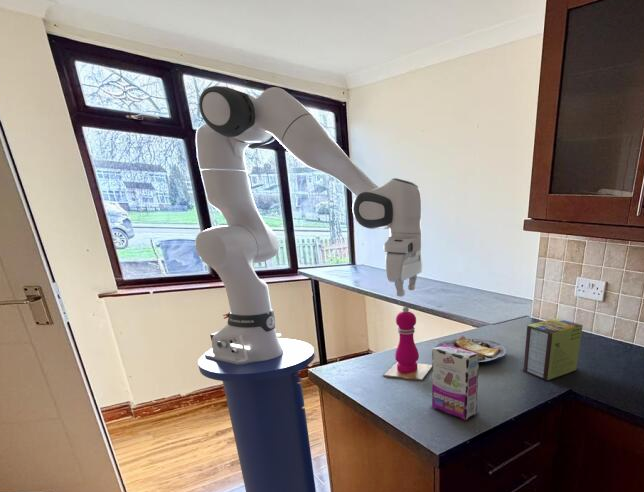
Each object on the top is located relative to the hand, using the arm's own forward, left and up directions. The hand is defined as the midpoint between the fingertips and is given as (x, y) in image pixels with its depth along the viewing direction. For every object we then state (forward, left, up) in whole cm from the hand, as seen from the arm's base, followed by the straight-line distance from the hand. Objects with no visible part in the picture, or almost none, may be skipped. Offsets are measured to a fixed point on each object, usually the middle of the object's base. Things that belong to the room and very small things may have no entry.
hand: (406, 292), depth 118 cm
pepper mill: (0, 0, -24) cm, 24 cm away
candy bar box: (+20, -22, -25) cm, 39 cm away
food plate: (+16, +20, -25) cm, 35 cm away
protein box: (+44, +13, -25) cm, 52 cm away
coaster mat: (0, 0, -25) cm, 25 cm away
